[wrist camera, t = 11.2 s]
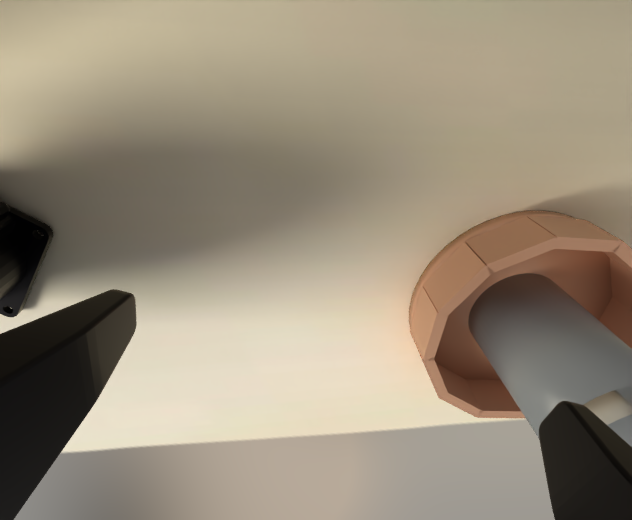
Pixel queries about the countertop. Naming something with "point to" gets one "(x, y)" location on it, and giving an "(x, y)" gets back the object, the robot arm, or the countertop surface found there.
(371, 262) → the countertop surface
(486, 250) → the terracotta bowl
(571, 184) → the countertop surface
